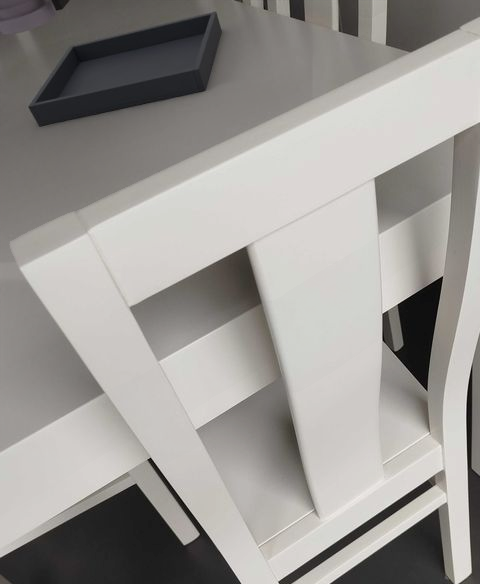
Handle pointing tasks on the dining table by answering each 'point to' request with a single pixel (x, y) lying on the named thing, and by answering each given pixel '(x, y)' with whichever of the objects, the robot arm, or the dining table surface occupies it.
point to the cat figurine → (24, 15)
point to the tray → (130, 70)
